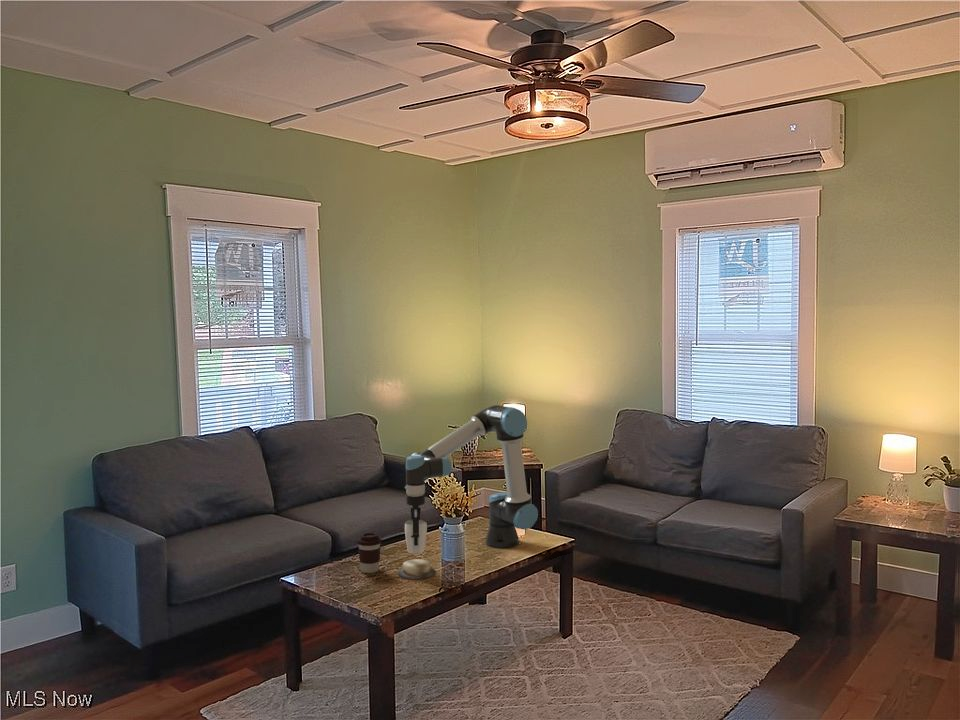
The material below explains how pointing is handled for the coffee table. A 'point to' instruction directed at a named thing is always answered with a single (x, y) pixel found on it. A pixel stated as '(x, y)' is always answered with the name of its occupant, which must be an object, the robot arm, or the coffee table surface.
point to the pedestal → (416, 569)
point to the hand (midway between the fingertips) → (416, 549)
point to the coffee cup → (369, 552)
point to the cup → (410, 532)
